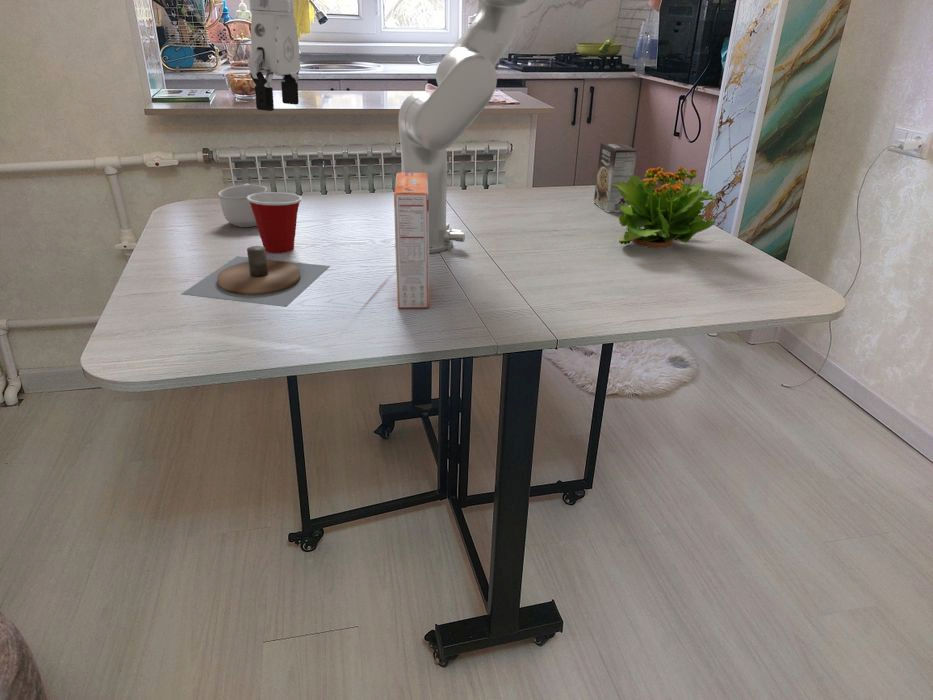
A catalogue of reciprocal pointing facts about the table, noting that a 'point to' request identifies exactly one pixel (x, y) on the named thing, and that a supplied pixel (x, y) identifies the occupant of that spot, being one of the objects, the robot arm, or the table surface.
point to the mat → (281, 298)
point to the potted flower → (662, 208)
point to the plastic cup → (276, 219)
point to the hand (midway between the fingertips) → (278, 106)
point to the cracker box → (412, 239)
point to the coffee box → (613, 174)
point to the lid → (258, 275)
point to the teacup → (239, 204)
